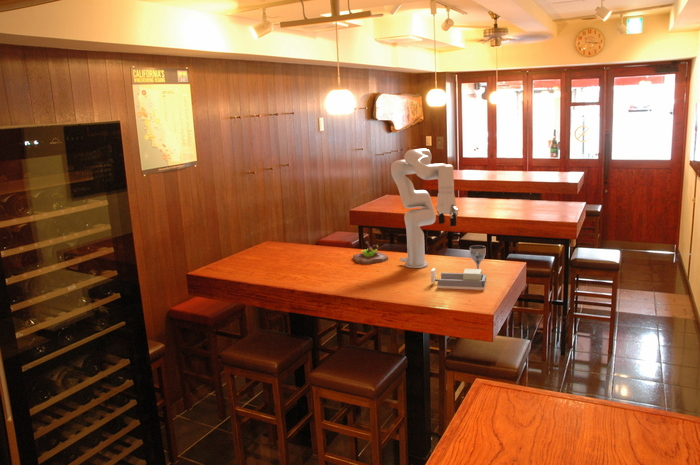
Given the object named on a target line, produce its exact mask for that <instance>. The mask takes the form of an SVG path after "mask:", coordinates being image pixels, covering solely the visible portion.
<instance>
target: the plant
mask: <svg viewBox="0 0 700 465" xmlns="http://www.w3.org/2000/svg"><path fill="white" fill-rule="evenodd" d="M365 244H367V249H366V248H365V249H363V250H362V249H361V250H360V253H357V254H353V255H352V259H353V261H354V260H355V261H354V263H355V262H357V264H358V263H362V264H361V265H363V264H368V265H372V263H373V264H378V263H377V262H379V263H384V262H387V261H388V260H389V256H387V254H385V253H383V252H380V251H378V248H379V245H378V244H373V245H372V246H371V245H370V243H369V241H368V240H366V241H365ZM374 247H376V248H375V249H373V248H374ZM386 260H387V261H386ZM383 261H384V262H383Z"/></svg>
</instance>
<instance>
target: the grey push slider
mask: <svg viewBox="0 0 700 465" xmlns="http://www.w3.org/2000/svg"><path fill="white" fill-rule="evenodd" d="M482 272H483V269H481V268H479V269H477V268H464V270H463V280H479V281H482V274H483V273H482ZM435 282H438V279H437V270H436V267H432V269H431V270H430V283H433V284H435Z"/></svg>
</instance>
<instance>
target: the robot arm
mask: <svg viewBox="0 0 700 465" xmlns="http://www.w3.org/2000/svg"><path fill="white" fill-rule="evenodd" d="M403 157H404V158H403V159H398V160H395V161H393V162H392V164H391V168H390V173H391V177H392V179H393V181H394V183H395V184H396V187H397V189H398V192H399V196H400V199H401V203H402V205H403V208H405V209H409V210H408V211H406V212H405V213H404V218H403V219H404V224H405V229H406V249H407V253H406V254H407V256H406V257H400V259H399V260H400V262H401V263H404V266H405V267H406V268H410V269H422V268H423V269H424V268H426V267H427V266H429V263H428V262H427V261H426V256H425V255H426V253H425V252H426V251H425V233H424V231H423V229H422V228H421V227H423V226H429V225H430V226H431V225H433V224H434V223H436V219H437V217H438V224H439V225H440V224H441V225H442V224H445V223H446V222H445V221H446V220H445V219H446V218H445V216H446V215H449V217H450V218H449V223H450V224H449V225H450V227H456V226H457V218H458V214H459V209H458V208H457V203H456V195H455V177H454V166H453V165H452V164H446V163H444V162H442V163H441V162H440V163H431V161H432V158H433V157H432V153H431V151H430V149H429V148H428V149H427V148H416V149H415V148H414V149H409V150H407V151H406V152H405V154H404V156H403ZM406 175H416V176H417V177H419V178H420V179H421V180H425V181H432V180H437V184H438V187H437V188H438V193H437V196H436V197H437V198H436V199H437V200H436V206H434V205H433V202H432V198H431V195H430V193H429V192H428V191H427V190H425V189H417V190H416V189H415V187H414V184H413V182H412V180H411V179H409V177H408V176H406ZM434 207H435V208H436V211H435V208H434ZM436 212H437V215H436Z"/></svg>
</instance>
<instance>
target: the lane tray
mask: <svg viewBox="0 0 700 465" xmlns="http://www.w3.org/2000/svg"><path fill="white" fill-rule="evenodd" d="M437 280H438V281H437V289H448V290H449V289H452V290H455V289H456V290H474V291H475V290H479V291H485V289H486V284H487V273H482V281H479V280H463V273H462V272H461V273H460V272H441V273H440V278H438V279H437Z"/></svg>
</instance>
